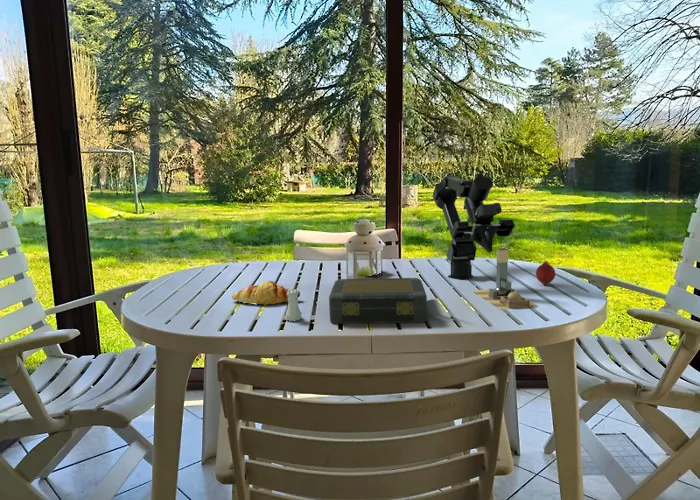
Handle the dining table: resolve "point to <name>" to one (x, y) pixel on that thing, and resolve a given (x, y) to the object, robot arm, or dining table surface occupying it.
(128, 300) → the dining table surface
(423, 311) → the cash box
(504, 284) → the lever
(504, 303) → the base
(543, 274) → the onion
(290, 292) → the rook chess piece
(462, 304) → the dining table surface
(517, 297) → the beige ball
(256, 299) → the croissant
